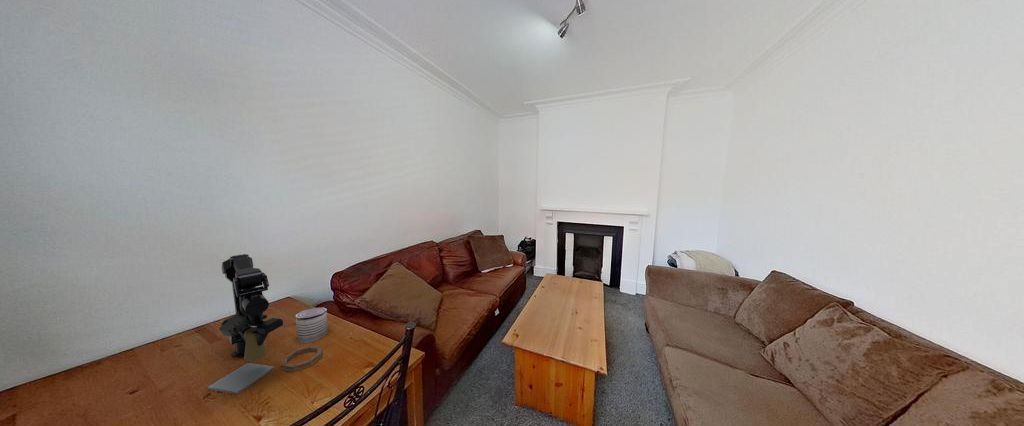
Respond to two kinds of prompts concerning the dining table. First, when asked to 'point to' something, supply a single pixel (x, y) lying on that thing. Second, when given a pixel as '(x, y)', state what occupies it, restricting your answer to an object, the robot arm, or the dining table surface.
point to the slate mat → (241, 378)
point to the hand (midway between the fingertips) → (254, 344)
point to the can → (311, 324)
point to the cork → (253, 346)
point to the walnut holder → (302, 365)
